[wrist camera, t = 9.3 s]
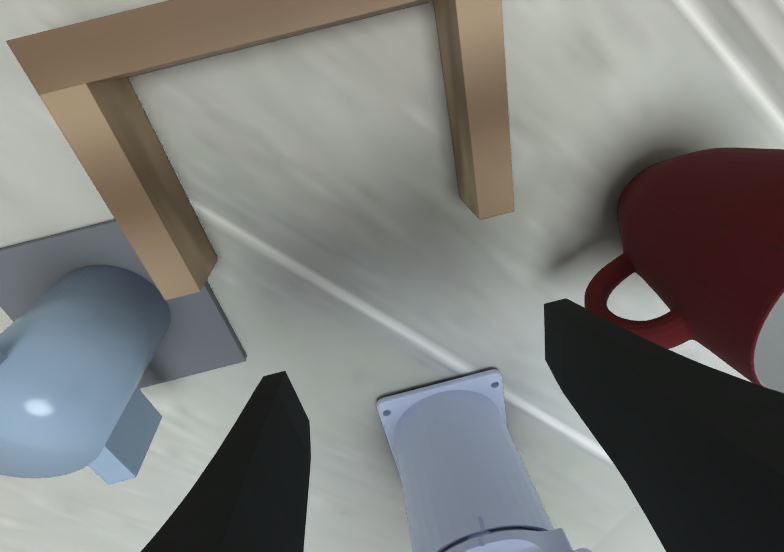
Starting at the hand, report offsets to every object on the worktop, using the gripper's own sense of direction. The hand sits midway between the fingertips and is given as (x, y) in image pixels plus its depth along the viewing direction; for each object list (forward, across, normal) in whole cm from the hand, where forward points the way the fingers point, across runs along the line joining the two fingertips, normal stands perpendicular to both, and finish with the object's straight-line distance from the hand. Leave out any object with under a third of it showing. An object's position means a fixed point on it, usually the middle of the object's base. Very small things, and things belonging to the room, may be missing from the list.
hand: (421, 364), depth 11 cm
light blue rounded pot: (+10, +14, +1) cm, 17 cm away
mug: (+10, -13, +3) cm, 17 cm away
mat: (+10, +14, +1) cm, 17 cm away
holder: (+10, +2, -4) cm, 11 cm away
